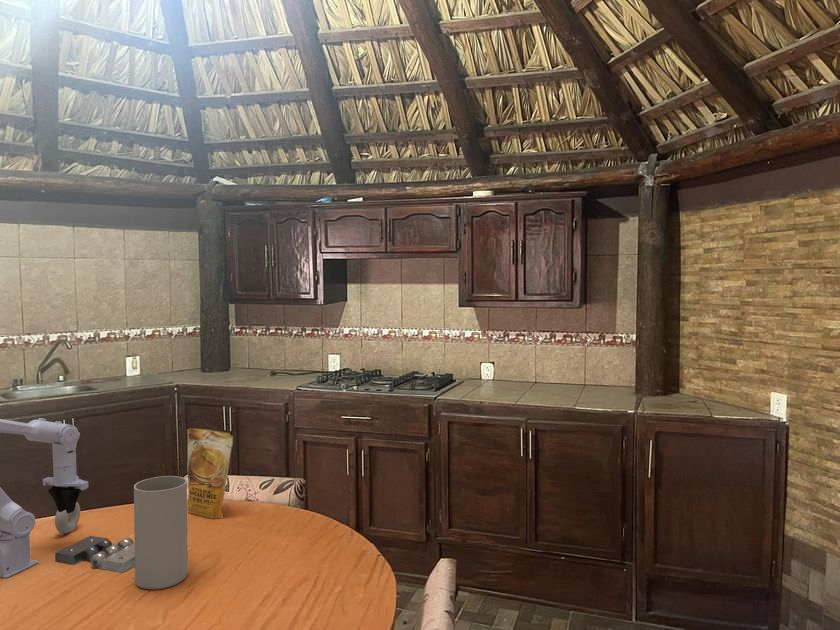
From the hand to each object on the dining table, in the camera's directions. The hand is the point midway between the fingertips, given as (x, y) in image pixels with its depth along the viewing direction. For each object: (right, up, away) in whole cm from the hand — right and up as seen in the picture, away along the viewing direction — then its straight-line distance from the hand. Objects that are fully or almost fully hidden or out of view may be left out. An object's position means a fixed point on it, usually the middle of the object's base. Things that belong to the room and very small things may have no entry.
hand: (66, 511), depth 174 cm
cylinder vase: (+36, -12, -19) cm, 42 cm away
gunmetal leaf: (+9, -11, -5) cm, 15 cm away
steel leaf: (+20, -11, -8) cm, 25 cm away
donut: (-6, -10, +11) cm, 16 cm away
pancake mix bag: (+31, -10, +27) cm, 43 cm away
